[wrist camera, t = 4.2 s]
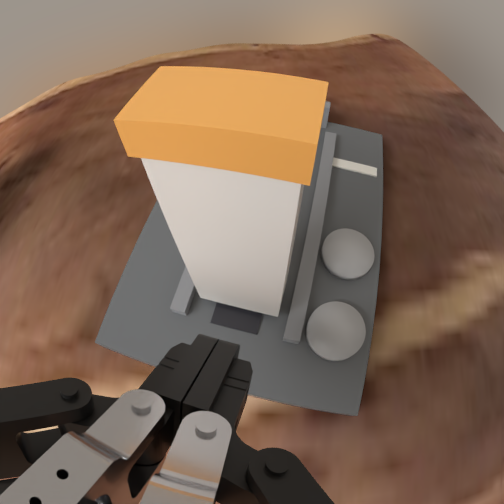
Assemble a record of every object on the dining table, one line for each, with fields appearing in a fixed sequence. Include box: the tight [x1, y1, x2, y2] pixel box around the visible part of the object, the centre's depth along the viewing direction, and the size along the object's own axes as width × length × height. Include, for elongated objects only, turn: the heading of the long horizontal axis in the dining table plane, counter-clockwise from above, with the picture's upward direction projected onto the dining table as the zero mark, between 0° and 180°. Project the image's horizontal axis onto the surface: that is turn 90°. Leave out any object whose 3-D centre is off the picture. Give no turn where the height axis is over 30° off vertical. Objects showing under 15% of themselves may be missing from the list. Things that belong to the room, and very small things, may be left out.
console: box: [95, 102, 383, 416], centre depth 19 cm, size 20×14×3 cm
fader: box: [114, 66, 329, 317], centre depth 11 cm, size 2×4×11 cm, turn 75°
